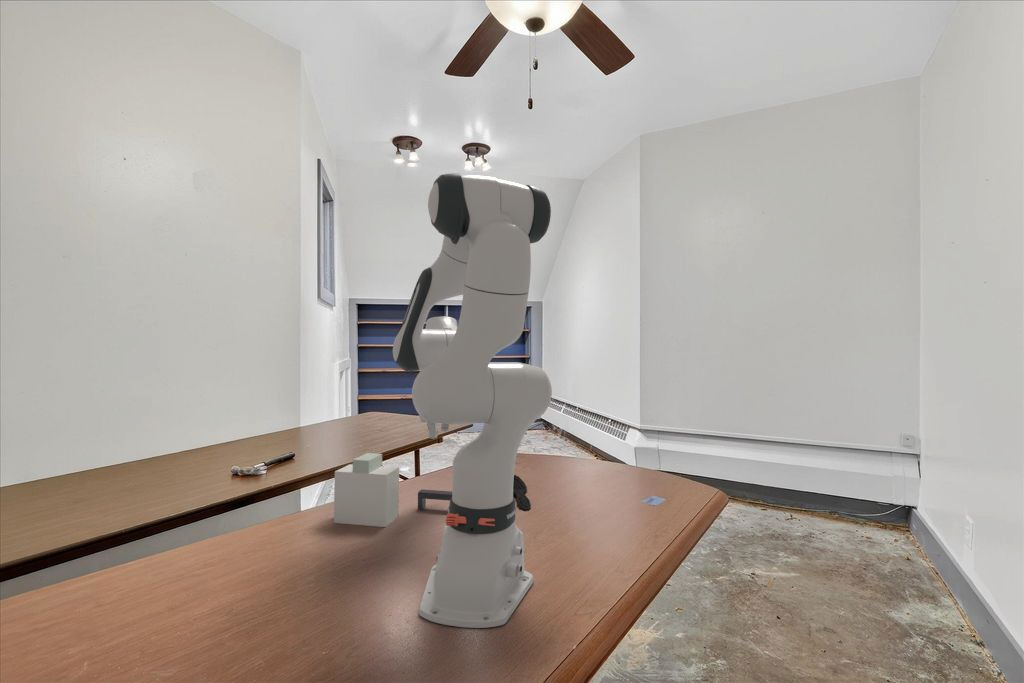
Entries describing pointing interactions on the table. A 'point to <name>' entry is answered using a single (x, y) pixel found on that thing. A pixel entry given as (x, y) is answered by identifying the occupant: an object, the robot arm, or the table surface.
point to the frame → (432, 496)
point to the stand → (366, 492)
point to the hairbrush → (521, 494)
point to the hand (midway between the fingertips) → (439, 434)
